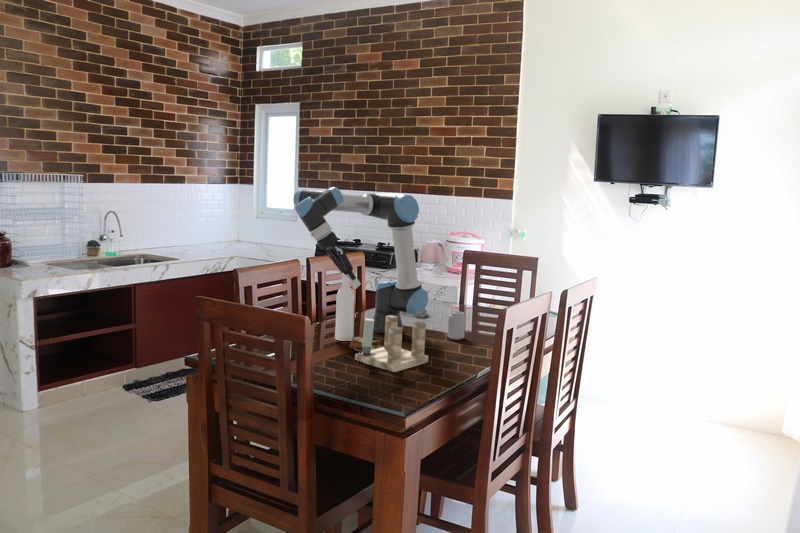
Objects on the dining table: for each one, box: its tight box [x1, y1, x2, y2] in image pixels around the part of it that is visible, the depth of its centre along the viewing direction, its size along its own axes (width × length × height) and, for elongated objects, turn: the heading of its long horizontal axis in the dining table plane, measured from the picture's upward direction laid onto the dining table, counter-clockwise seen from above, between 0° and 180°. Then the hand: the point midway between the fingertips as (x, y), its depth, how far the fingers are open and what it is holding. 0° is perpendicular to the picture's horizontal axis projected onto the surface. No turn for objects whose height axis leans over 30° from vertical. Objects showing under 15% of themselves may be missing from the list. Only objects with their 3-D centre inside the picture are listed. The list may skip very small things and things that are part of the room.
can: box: [446, 310, 466, 341], centre depth 289 cm, size 8×8×12 cm
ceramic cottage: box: [400, 308, 428, 318], centre depth 338 cm, size 16×16×15 cm
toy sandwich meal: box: [349, 336, 384, 353], centre depth 262 cm, size 12×14×5 cm
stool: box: [354, 315, 429, 373], centre depth 246 cm, size 20×20×16 cm
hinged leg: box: [362, 317, 374, 355], centre depth 245 cm, size 4×4×13 cm
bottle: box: [334, 273, 356, 341], centre depth 274 cm, size 8×8×30 cm
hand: (357, 286), depth 248 cm, fingers closed
